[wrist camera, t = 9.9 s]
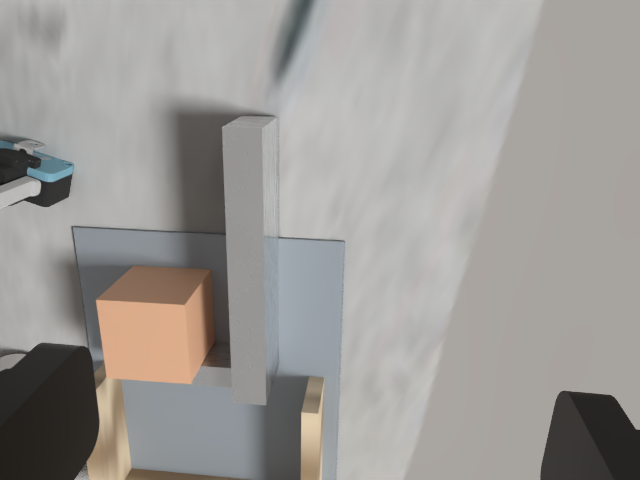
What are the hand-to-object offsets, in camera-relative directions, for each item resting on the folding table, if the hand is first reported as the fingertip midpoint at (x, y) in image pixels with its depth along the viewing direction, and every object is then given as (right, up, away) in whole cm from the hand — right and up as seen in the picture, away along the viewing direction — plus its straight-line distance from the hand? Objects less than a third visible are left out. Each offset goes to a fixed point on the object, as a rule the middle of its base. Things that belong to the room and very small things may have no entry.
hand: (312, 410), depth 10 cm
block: (-9, -1, +26) cm, 28 cm away
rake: (-7, +3, +25) cm, 26 cm away
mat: (-7, -6, +28) cm, 29 cm away
